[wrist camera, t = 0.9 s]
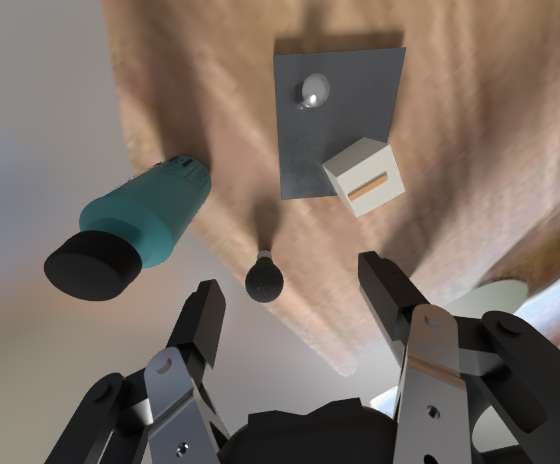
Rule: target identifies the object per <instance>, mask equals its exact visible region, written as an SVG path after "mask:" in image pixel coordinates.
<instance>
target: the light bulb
mask: <svg viewBox="0 0 560 464" xmlns="http://www.w3.org/2000/svg"><path fill="white" fill-rule="evenodd" d="M283 284H284V280H283V276H282V273H281V272H280V270H279V269H278V268H277V267H276V266H275V265H274V264H273V261H272V256H271V253H270V252H269V251H267V250H262V251H260V252H259V253H258V255H257V261H256V264H255V265H254V266H253V267H252V268H251V269H250V270H249V272H248V274H247V276H246V280H245V286H246V290H247V292H248V294H249V295H250V297H251V298H253V299H254V300H256V301H258V302H262V303H266V302H270V301H273V300H274V299H276V298H277V297H278V296H279V295H280V293H281V291H282V289H283Z"/></svg>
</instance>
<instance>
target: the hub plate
mask: <svg viewBox="0 0 560 464" xmlns="http://www.w3.org/2000/svg"><path fill="white" fill-rule="evenodd" d="M405 51H406V47H404V48H387V49H370V50H353V51H336V52H319V53H302V54H284V55H274V58H273V61H274V78H275V96H276V114H277V131H278V149H279V166H280V184H281V197H282V200H286V199H299V198H311V197H323V196H336V195H338V194H337V192H336V190H335V188H334V186H333V185H332V183H331V181H330V179H329V177H328V175H327V173H326V171H325V169H324V168H323V166H322V164H323V163H325V162H326V161H328V160H329V159H331V158H332V157H334V156H336V155H337V154H339V153H340V152H342V151H343V150H345V149H346V148H348V147H349V146H351V145H352V144H354V143H355V142H357V141H358V140H360V139H361V138H363V137H365V138H369V139H373V140H376V141H380V142H384V143H387V140H388V135H389V130H390V125H391V120H392V115H393V110H394V105H395V101H396V96H397V91H398V86H399V81H400V76H401V71H402V66H403V61H404V56H405Z"/></svg>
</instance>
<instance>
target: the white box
mask: <svg viewBox="0 0 560 464" xmlns="http://www.w3.org/2000/svg"><path fill="white" fill-rule="evenodd" d="M322 166H323V168H324V169H325V171H326V173H327V175H328V177H329V179H330V181H331V183H332V185H333V186H334V188H335V190H336V192H337V194H338V196H339V198H340V199H341V201H342V202H343V203H344V204H345V205H346V206H347V208H348V209H349V210H350V211H351V212H352V213H353V214H354V216H355V217H356V218H358V217H360V216H362V215H364V214H365V213H367V212H369V211H371V210H373V209H374V208H376V207H378V206H380V205H382V204H383V203H385V202H387V201H389V200H391V199H392V198H394V197H396V196H398V195H399V194H401V193H403V192H405V189H404V186H403V183H402V180H401V177H400V174H399V171H398V168H397V165H396V161H395V158H394V155H393V152H392V149H391V146H390V144H387V143H384V142H380V141H376V140H373V139H369V138H365V137H363V138H361V139H360V140H358V141H357V142H355V143H354V144H352V145H351V146H349V147H348V148H346V149H345V150H343V151H342V152H340V153H339V154H337V155H336V156H334V157H332V158H331V159H329V160H328V161H326V162H325V163H323V164H322Z"/></svg>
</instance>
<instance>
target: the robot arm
mask: <svg viewBox="0 0 560 464" xmlns="http://www.w3.org/2000/svg"><path fill="white" fill-rule="evenodd" d="M358 278H359V282H360V284H361V285H360V293H361V294H362V296H363V298H364V300H365V302H366V304H367V306H368V308H369V310H370V312H371V314H372V315H373V317H374V319H375V321H376V323H377V325H378V327H379V329H380V330H381V332H382V334H383V336H384V338H385V340H386V342H387V344H388V345H389V347H390V349H391V351H392V353H393V355H394V357H395V359H396V361H397V362H398V364H399V366H400V368H401V371H400V378H399V384H398V390H397V396H396V401H395V406H394V412H393V418H392V419H391V418H390V417H388V416H387V415H385V414H384V413H382V412H380V411H378V410H375V409H373V408H369V407H366V406H362V404H361V401H360V398H359V397H358V398H351V399H345V400H339V401H332V402H330V403H328V404H326V405H324V406H322V407H320V408H318V409H316V410H315V411H313V412H311V413H309V414H307V415H297V414H293V413H287V412H282V411H277V410H274V411H267V412H260V413H254V414H249V415H248V424H246V425H245V426H243V427H242V428H240V429H239V430H238V431H237V432H236V433H235V434H234V435H232V436H230V434H229V432H228V430H227V428H226V427H225V425H224V423H223V422H222V420H221V418H220V416H219V414H218V412H217V410H216V408H215V405H214V403H213V401H212V399H211V397H210V395H209V393H208V390H207V388H206V386H205V384H204V382H203V380H202V378H203V374H204V371H209V370H213V366H214V362H215V357H216V351H217V347H218V342H219V337H220V333H221V328H222V323H223V318H224V313H225V308H226V303H225V298H224V295H223V293H222V291H221V289H220V287H219V285H218V282H217V281H216V280H215V279H212V280H207V281H201V282H200V284H199V286H198V289H197V291H196V292H193V293H192V294H191V295H190V296H189V297H188V299H187V300H186V301H185V304H184V306H183V308H182V311H181V313H180V316H179V318H178V320H177V322H176V325H175V327H174V329H173V332H172V335H171V336H170V339H169V341H168V343H167V346H166V348H165V349H163V350H161V351H160V352H158V353H157V354H156V355H155V356H154V357H153V358H152V359H151V360H150V361H149V363H148V365H147V366H146V367H145V368H143V369H141V370H139V371H137V372H135V373H133V374H131V375H129V376H127V377H124V376H122V375H121V374H120V373H111V374H108V375H106V376H105V377H103V378H102V379H100V380H99V381H98V382H96V383H95V384H94V385H93V386H92V387H91V388H90V390H89V391H88V392H87V393H86V395H85V396H84V398H83V400H82V401H81V403H80V405H79V407H78V408H77V410H76V411H75V413H74V415H73V416H72V418H71V420H70V422H69V423H68V425H67V427H66V428H65V430H64V432H63V433H62V435H61V437H60V438H59V440H58V441H57V443H56V445H55V446H54V448H53V450H52V452H51V453H50V455H49V456H48V458H47V460H46V461H45V463H44V464H97V462H98V460H99V458H100V456H101V453H102V451H103V449H104V447H105V445H106V442H107V440H108V438H109V435H110V433H111V431H113V433H112V436H111V438H110V440H109V443H108V445H107V447H106V449H105V452H104V454H103V456H102V458H101V461H100V463H99V464H141V461H142V458H143V455H144V452H145V449H146V446H147V442H148V440H149V446H150V451H151V457H152V463H153V464H560V350H559V349H558V348H557V347H556V346H555V345H554V344H552V343H551V342H550V341H549V340H548V339H546V338H545V337H544V336H543V335H542V334H541V333H539V332H538V331H537V330H536V329H535V328H534V327H532V326H531V325H530V324H529V323H527V322H526V321H524V320H523V319H521V318H519V317H517V316H515V315H512V314H510V313H506V312H502V311H488V312H486V313H484V315H483V316H482V318H481V319H475V318H467V317H458V316H453V315H451V314H450V313H449V312H447V311H446V310H444V309H443V308H441V307H438V306H436V305H432V304H430V303H429V302H428V301H427V299H426V298H425V297H424V296H423V295H422V294H421V292H420V291H419V290H418V289H417V288H416V287H415V286H414V284H413V283H412V282H411V281H410V280H409V279H408V278H407V276H406V275H405V274H404V273H402V271H401V269H400V268H399V267H398V266H397V265H396V264H395V263H394V262H392V261H390V260H389V259H387V258H384V259H381V258H380V257H379V256H378V255H377V253H376V252H375V251H368V252H363V253H359V255H358ZM491 405H492V406H493V408H494V409H495V411H496V412H497V413H498V415H499V416H500V418H501V419H502V420H503V422H504V423H505V425H506V426H507V427H508V429H509V430H510V431H511V433H512V434H513V436H514V437H515V438H516V440H517V441H518V443H519V445H517V446H516V445H513V446H509V447H504V448H500V449H495V450H491V451H486V452H485V453H484V452H482V453H480V452H479V451H477V449H476V448H475V447H474V445H473V442H472V433H473V429H474V426H475V424H476V422H477V420H478V419H479V417H480V416H481V415H482V413H483V412H484V411H485V410H486V409H487V408H488V407H489V406H491Z"/></svg>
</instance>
